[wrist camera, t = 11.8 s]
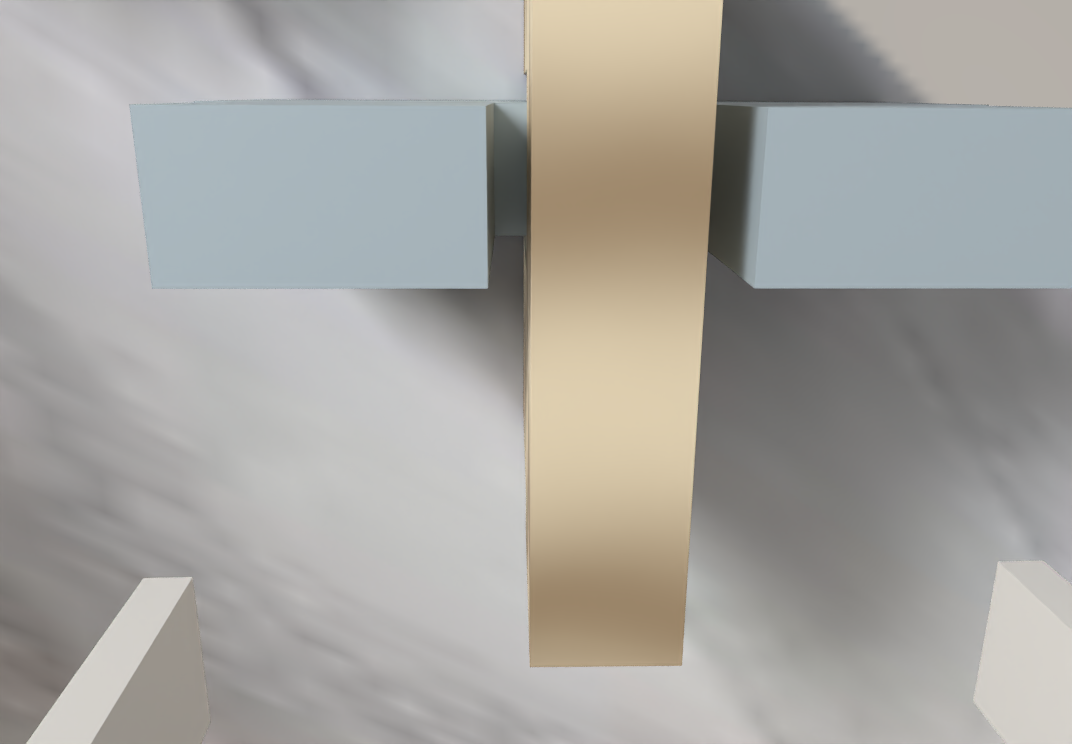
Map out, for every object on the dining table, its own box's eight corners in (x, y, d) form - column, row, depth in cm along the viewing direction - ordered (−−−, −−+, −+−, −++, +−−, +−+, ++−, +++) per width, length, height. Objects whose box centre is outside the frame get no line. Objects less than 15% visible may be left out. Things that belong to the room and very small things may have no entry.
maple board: (615, 441, 29) (681, 665, 18) (523, 441, 29) (529, 667, 18) (637, -191, 24) (750, -453, 12) (524, -193, 24) (533, -457, 12)
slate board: (273, 205, 27) (92, 288, 15) (264, 99, 26) (66, 104, 14) (873, 206, 27) (1136, 288, 16) (885, 102, 26) (1172, 109, 15)
